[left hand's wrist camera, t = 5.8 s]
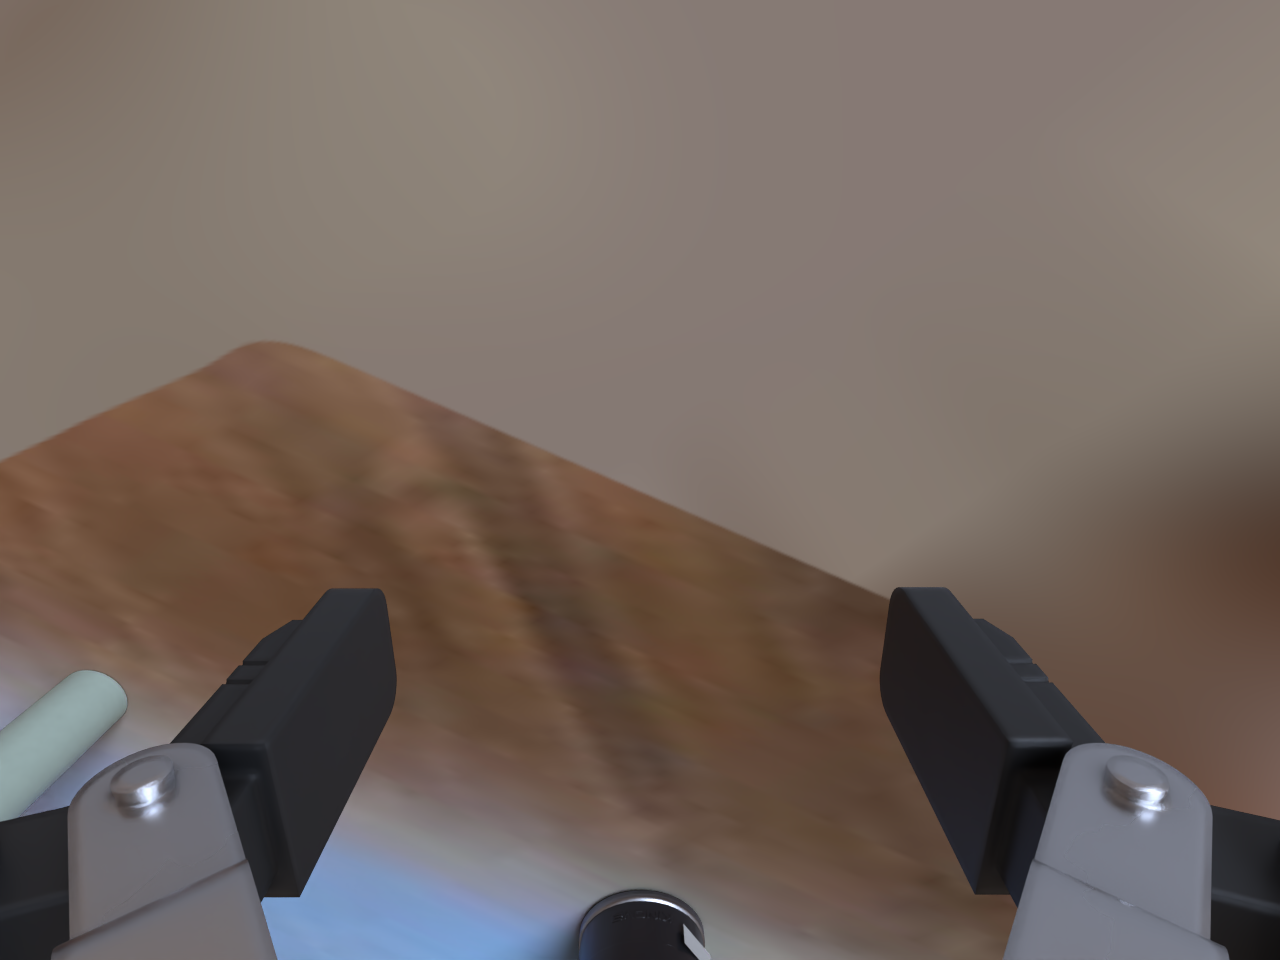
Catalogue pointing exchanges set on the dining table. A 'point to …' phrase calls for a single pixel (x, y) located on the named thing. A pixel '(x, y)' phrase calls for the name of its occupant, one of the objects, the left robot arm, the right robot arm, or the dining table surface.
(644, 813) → the dining table surface
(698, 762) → the dining table surface
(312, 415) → the dining table surface
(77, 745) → the mint green cylinder
